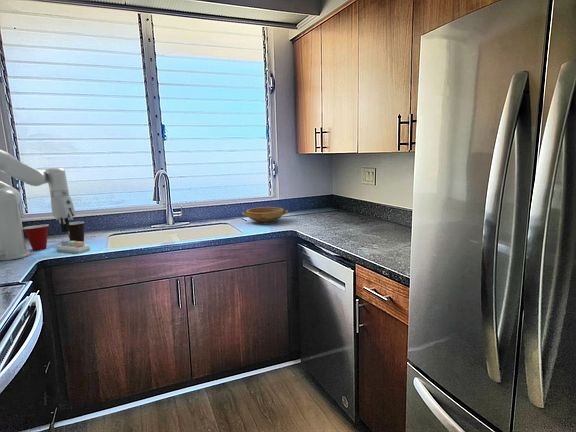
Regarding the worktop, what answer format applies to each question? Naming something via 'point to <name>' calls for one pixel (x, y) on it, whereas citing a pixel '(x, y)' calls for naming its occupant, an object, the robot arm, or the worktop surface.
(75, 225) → the coffee mug
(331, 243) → the worktop surface
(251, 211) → the ceramic bowl
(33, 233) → the plastic cup
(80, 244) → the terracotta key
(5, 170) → the robot arm
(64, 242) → the slate blue key
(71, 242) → the sage key
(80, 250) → the keypad
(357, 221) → the worktop surface
